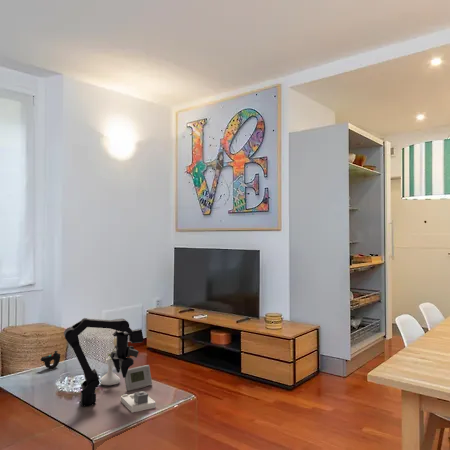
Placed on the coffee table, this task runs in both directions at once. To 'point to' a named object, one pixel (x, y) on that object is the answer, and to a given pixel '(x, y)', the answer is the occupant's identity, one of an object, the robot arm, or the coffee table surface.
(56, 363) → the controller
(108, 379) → the flower in vase
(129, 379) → the digital clock
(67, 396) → the coffee table surface
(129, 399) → the socket
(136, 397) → the plug
